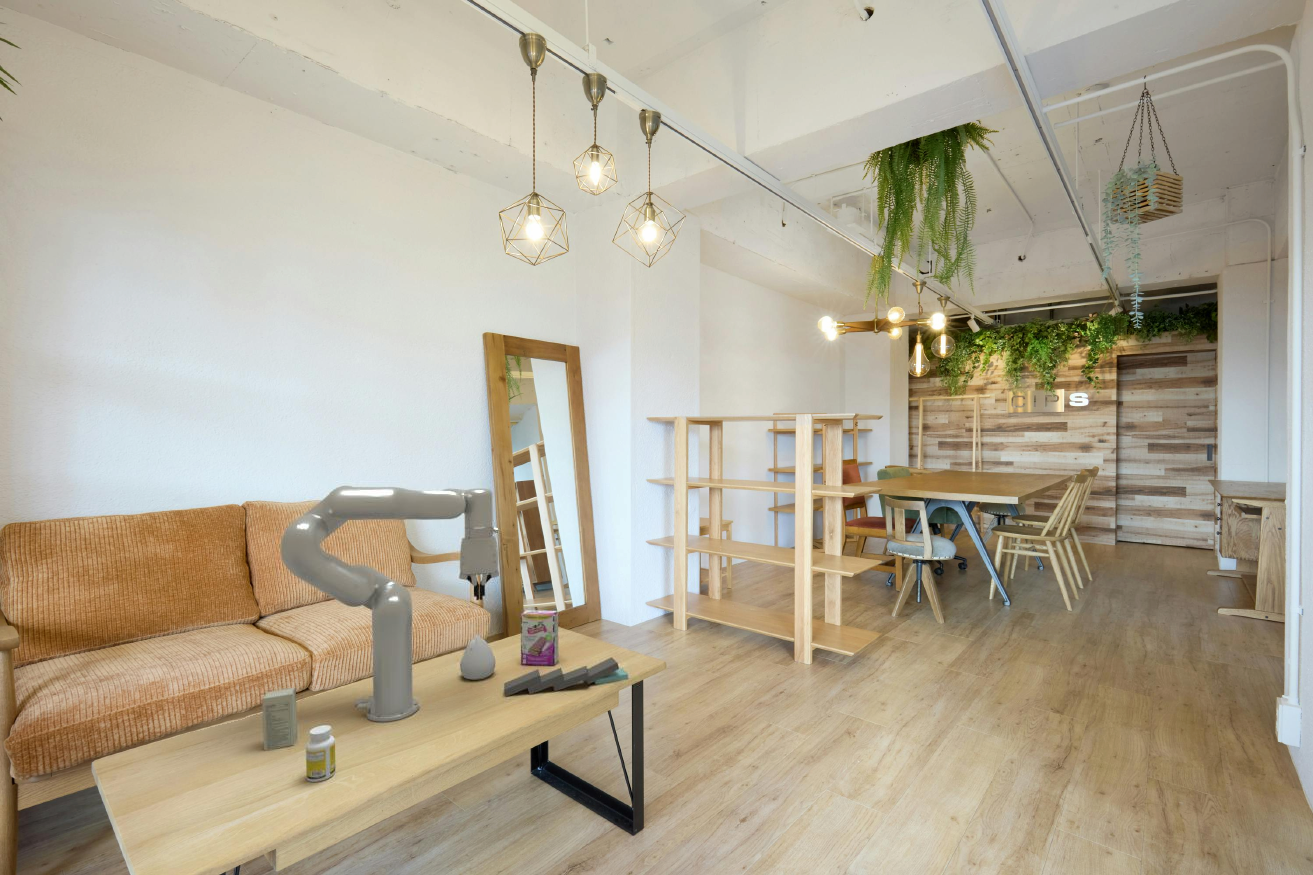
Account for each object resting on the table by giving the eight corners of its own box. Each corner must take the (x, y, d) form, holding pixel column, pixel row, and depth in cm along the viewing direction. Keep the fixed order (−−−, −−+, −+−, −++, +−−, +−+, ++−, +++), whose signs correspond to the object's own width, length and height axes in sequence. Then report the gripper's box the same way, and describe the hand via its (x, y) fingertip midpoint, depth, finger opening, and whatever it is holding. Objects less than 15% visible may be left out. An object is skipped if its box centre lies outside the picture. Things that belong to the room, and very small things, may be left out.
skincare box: (297, 737, 144) (297, 686, 145) (294, 745, 140) (293, 693, 141) (266, 742, 142) (266, 690, 142) (262, 751, 138) (261, 697, 138)
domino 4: (586, 677, 172) (617, 662, 176) (581, 672, 177) (611, 657, 181) (588, 684, 173) (619, 668, 176) (583, 678, 177) (613, 663, 181)
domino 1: (504, 689, 166) (538, 675, 169) (504, 682, 171) (538, 669, 173) (506, 696, 166) (541, 681, 169) (506, 689, 171) (540, 675, 174)
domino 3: (552, 684, 169) (586, 672, 171) (553, 677, 174) (586, 665, 176) (554, 691, 169) (588, 678, 171) (555, 684, 174) (588, 671, 176)
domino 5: (595, 679, 174) (627, 674, 178) (590, 673, 179) (622, 668, 183) (595, 686, 174) (628, 680, 178) (590, 680, 179) (622, 674, 183)
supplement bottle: (327, 766, 131) (327, 721, 131) (340, 773, 128) (340, 727, 128) (301, 777, 127) (301, 730, 127) (314, 785, 124) (313, 737, 124)
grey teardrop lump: (456, 673, 184) (456, 634, 184) (491, 667, 189) (490, 629, 189) (463, 685, 175) (462, 644, 175) (499, 678, 180) (498, 638, 180)
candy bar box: (520, 665, 190) (519, 613, 190) (525, 660, 195) (524, 609, 195) (555, 666, 189) (554, 614, 189) (559, 660, 194) (558, 609, 194)
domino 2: (527, 687, 168) (562, 673, 170) (527, 681, 172) (560, 667, 175) (529, 694, 168) (564, 680, 170) (529, 687, 173) (562, 673, 175)
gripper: (506, 529, 173) (506, 593, 173) (451, 532, 169) (452, 597, 169) (506, 533, 166) (507, 600, 165) (449, 536, 162) (450, 604, 161)
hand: (479, 598), depth 167 cm, fingers closed
